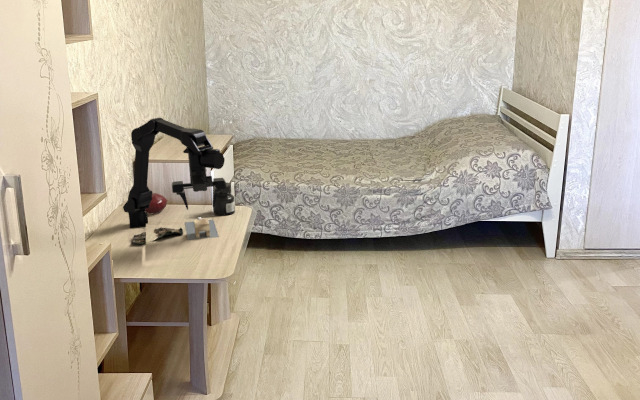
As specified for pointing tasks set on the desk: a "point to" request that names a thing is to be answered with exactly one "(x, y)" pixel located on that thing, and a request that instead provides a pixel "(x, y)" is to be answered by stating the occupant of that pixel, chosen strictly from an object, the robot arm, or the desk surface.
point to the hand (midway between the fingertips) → (200, 208)
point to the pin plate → (202, 234)
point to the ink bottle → (224, 202)
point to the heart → (156, 204)
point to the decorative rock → (161, 231)
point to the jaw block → (202, 227)
